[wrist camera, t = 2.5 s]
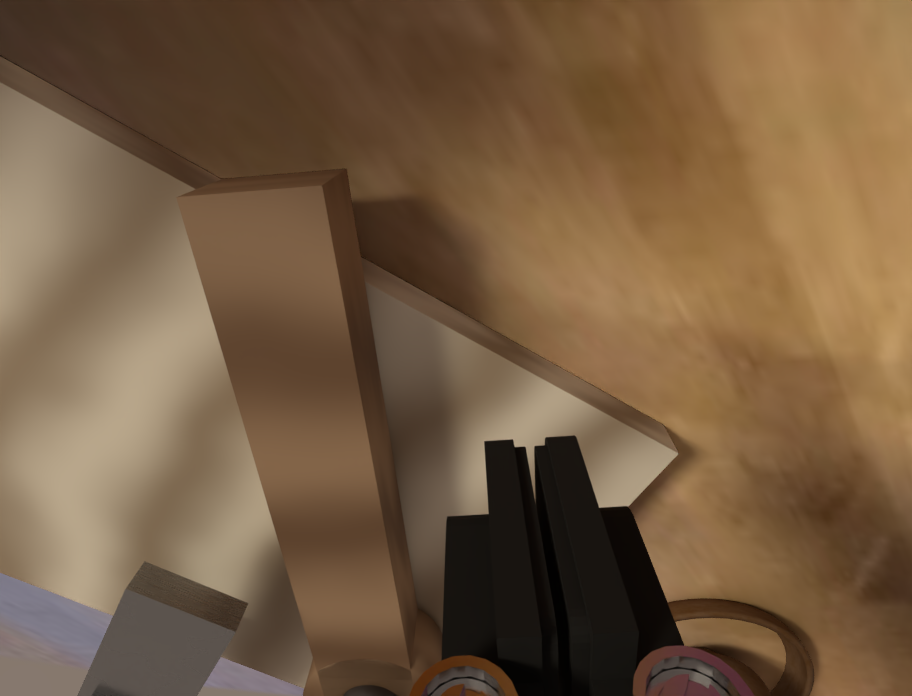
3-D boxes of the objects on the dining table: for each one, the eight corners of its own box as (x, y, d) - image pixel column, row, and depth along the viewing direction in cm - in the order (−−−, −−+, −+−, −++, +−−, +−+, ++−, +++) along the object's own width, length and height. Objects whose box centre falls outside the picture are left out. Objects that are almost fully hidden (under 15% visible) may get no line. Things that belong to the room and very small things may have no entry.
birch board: (663, 425, 24) (678, 453, 22) (418, 694, 32) (414, 730, 31) (-137, -20, 18) (-208, -32, 16) (-176, 459, 26) (-224, 487, 24)
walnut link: (449, 679, 28) (443, 783, 24) (332, 681, 29) (307, 784, 24) (377, 166, 17) (346, 193, 13) (192, 181, 18) (104, 213, 14)
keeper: (295, 494, 26) (232, 639, 19) (228, 609, 30) (155, 765, 23) (215, 458, 25) (120, 596, 19) (156, 581, 29) (59, 733, 22)
